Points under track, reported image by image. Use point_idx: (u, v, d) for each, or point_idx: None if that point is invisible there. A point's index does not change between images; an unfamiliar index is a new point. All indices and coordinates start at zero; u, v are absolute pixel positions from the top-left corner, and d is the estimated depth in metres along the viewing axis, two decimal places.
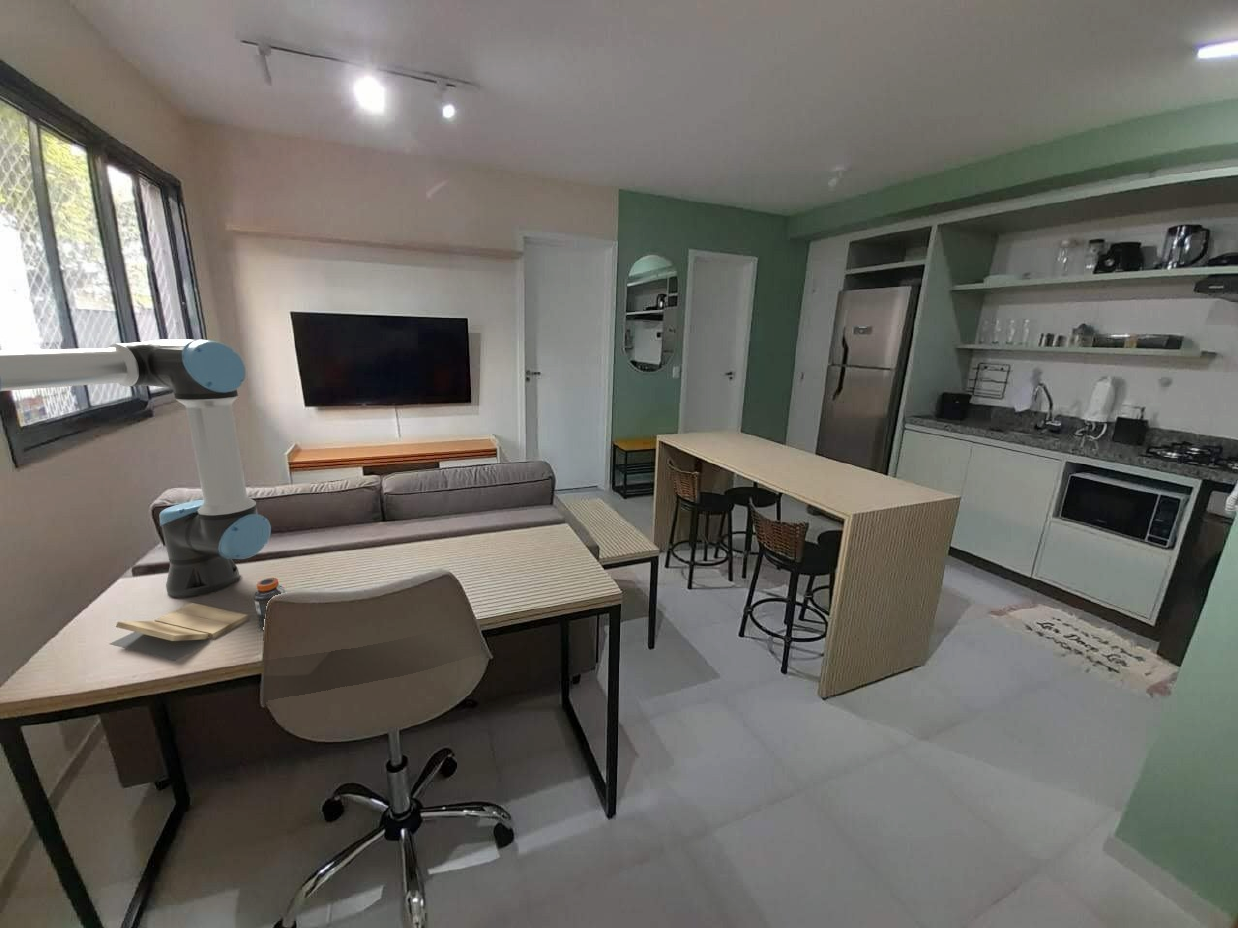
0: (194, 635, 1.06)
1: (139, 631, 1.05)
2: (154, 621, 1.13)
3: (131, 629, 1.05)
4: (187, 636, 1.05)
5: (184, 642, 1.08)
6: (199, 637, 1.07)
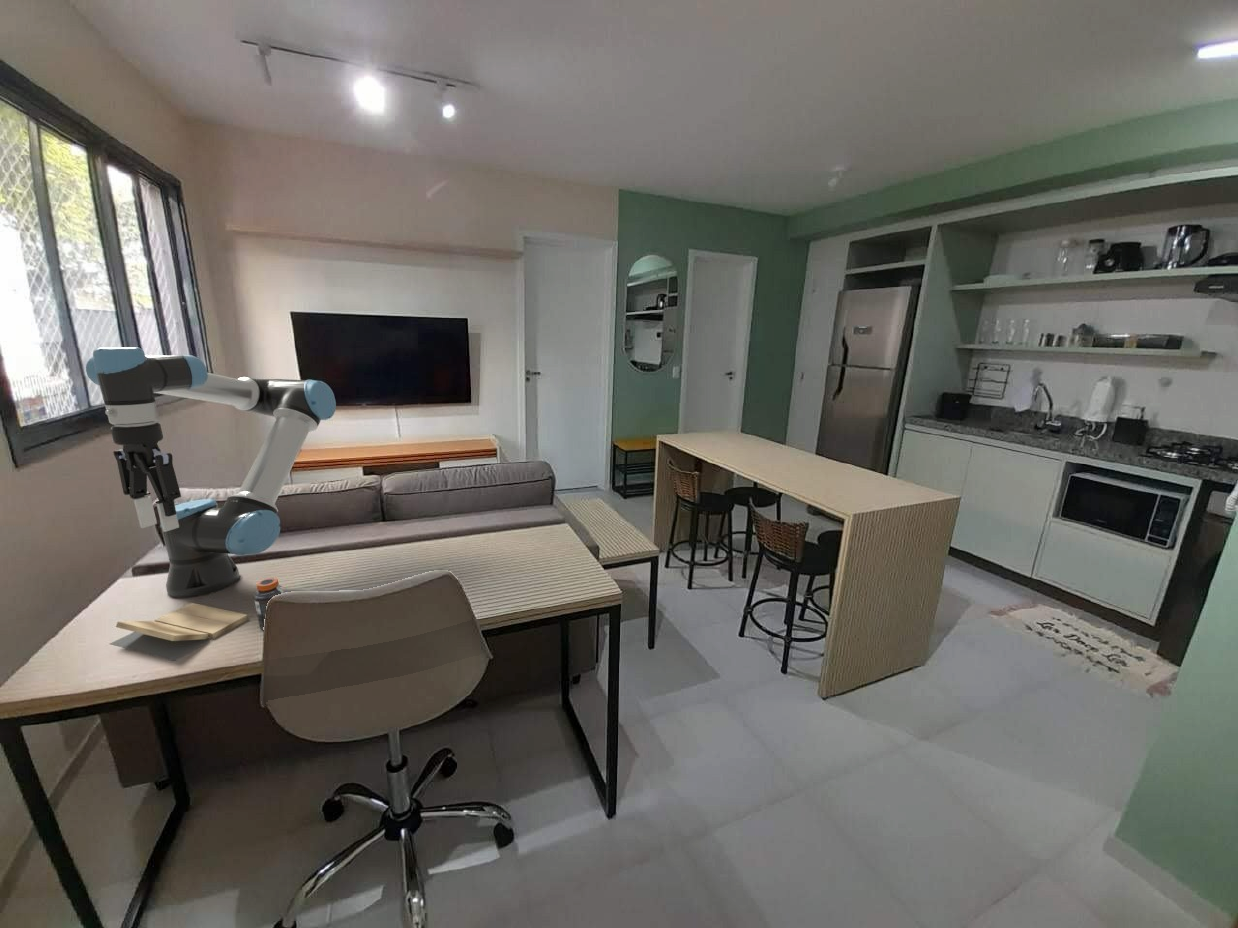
0: (194, 635, 1.06)
1: (139, 631, 1.05)
2: (154, 621, 1.13)
3: (131, 629, 1.05)
4: (187, 636, 1.05)
5: (184, 642, 1.08)
6: (199, 637, 1.07)
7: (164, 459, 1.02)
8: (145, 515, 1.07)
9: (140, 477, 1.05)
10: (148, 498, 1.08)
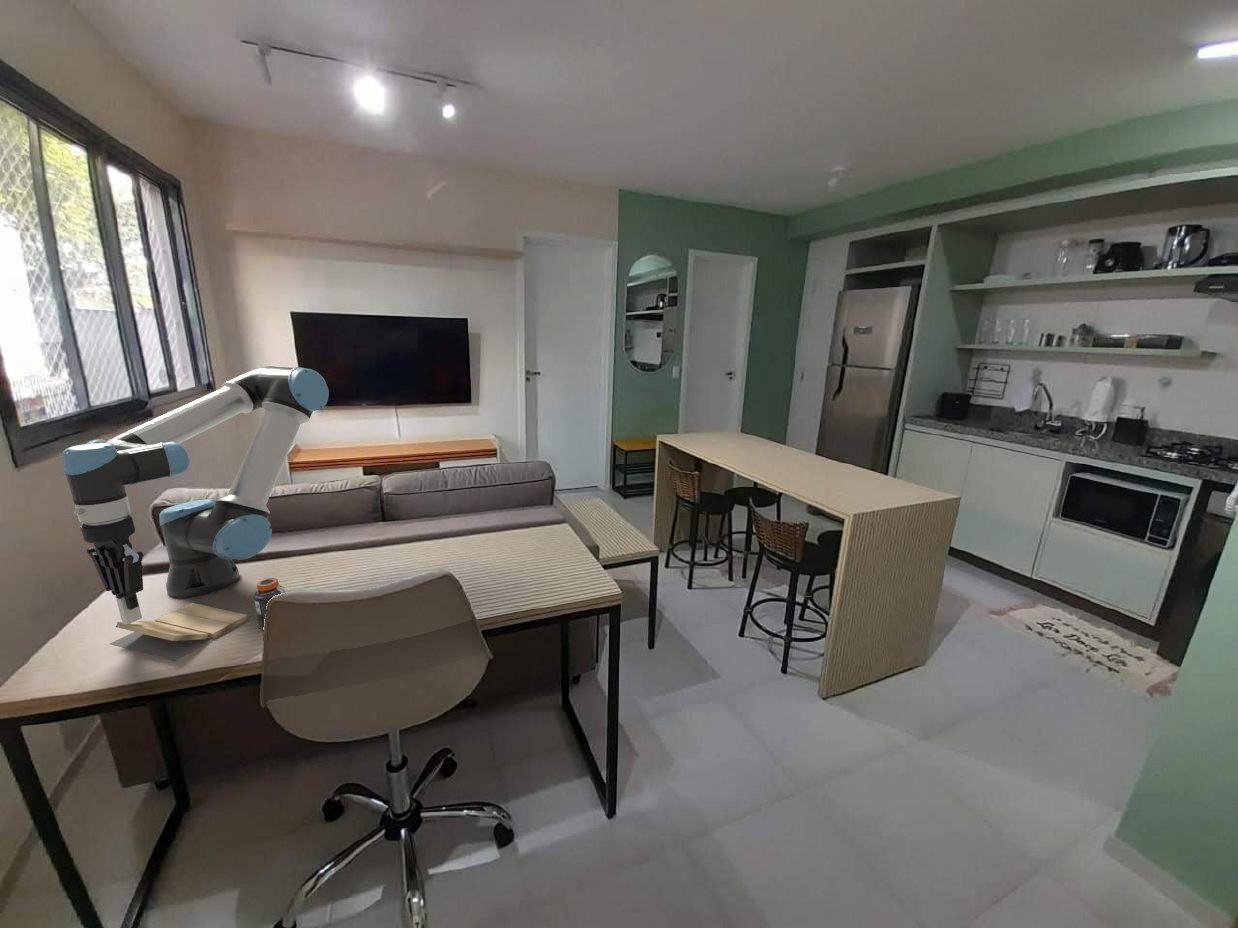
0: (194, 635, 1.06)
1: (139, 631, 1.05)
2: (154, 621, 1.13)
3: (131, 629, 1.05)
4: (187, 636, 1.05)
5: (184, 642, 1.08)
6: (199, 637, 1.07)
7: (134, 559, 1.01)
8: None
9: None
10: None
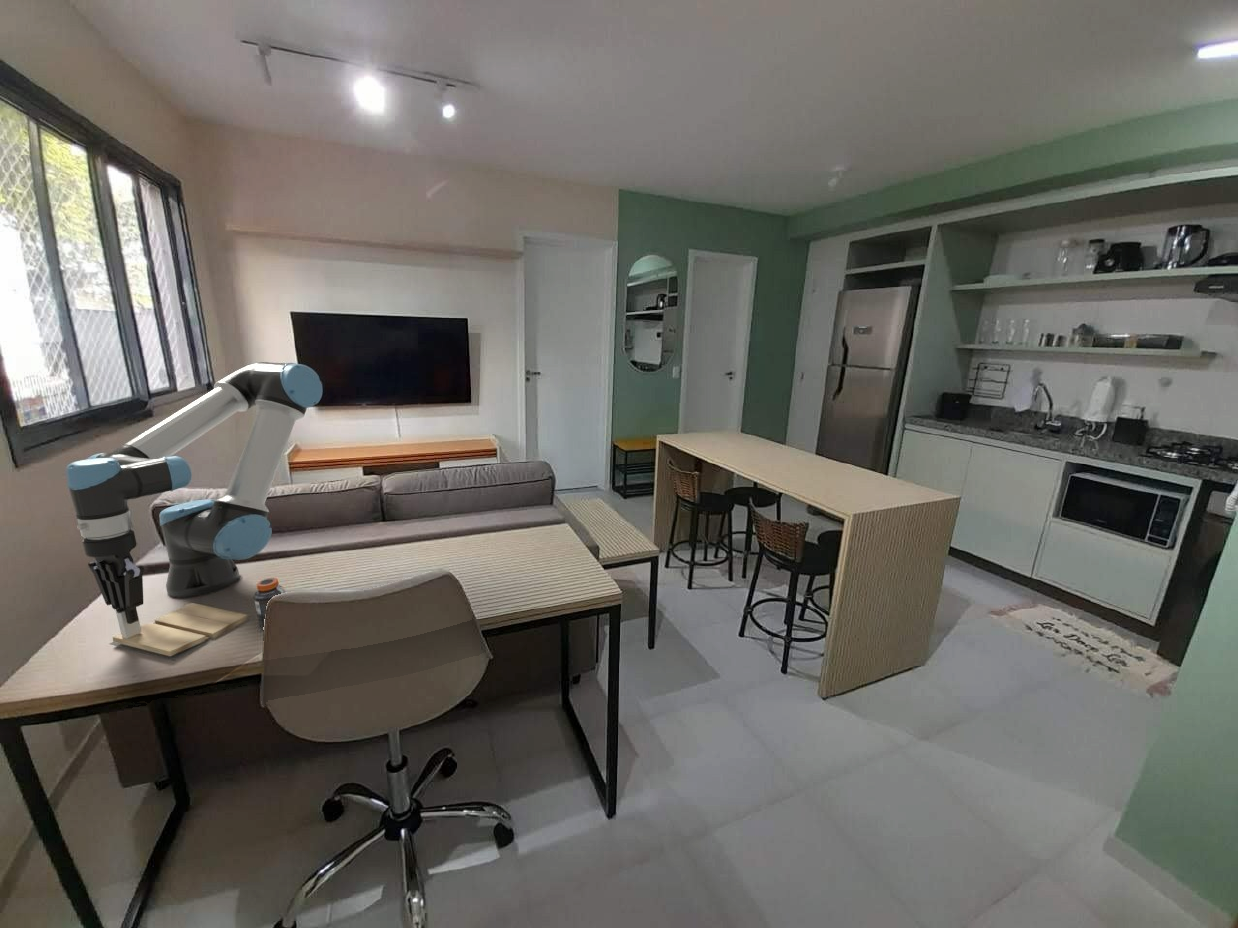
0: (191, 642, 1.06)
1: (136, 646, 1.04)
2: (151, 623, 1.12)
3: (128, 644, 1.05)
4: (184, 646, 1.04)
5: None
6: (197, 642, 1.07)
7: (135, 574, 1.01)
8: None
9: None
10: None
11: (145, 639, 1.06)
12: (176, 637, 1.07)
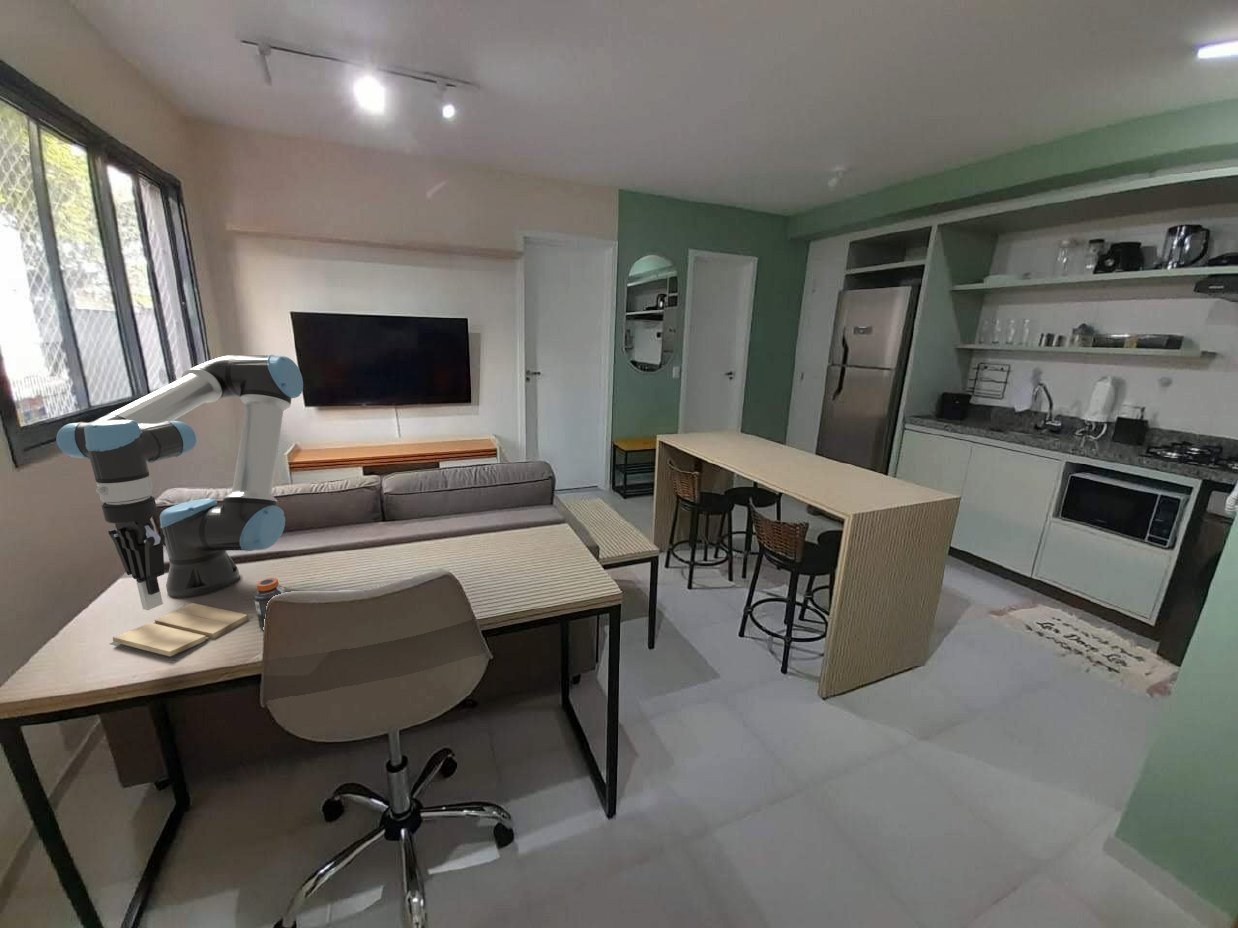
0: (191, 642, 1.06)
1: (136, 646, 1.04)
2: (151, 623, 1.12)
3: (128, 644, 1.05)
4: (184, 646, 1.04)
5: None
6: (197, 642, 1.07)
7: (155, 541, 0.97)
8: None
9: None
10: None
11: (145, 639, 1.06)
12: (176, 637, 1.07)
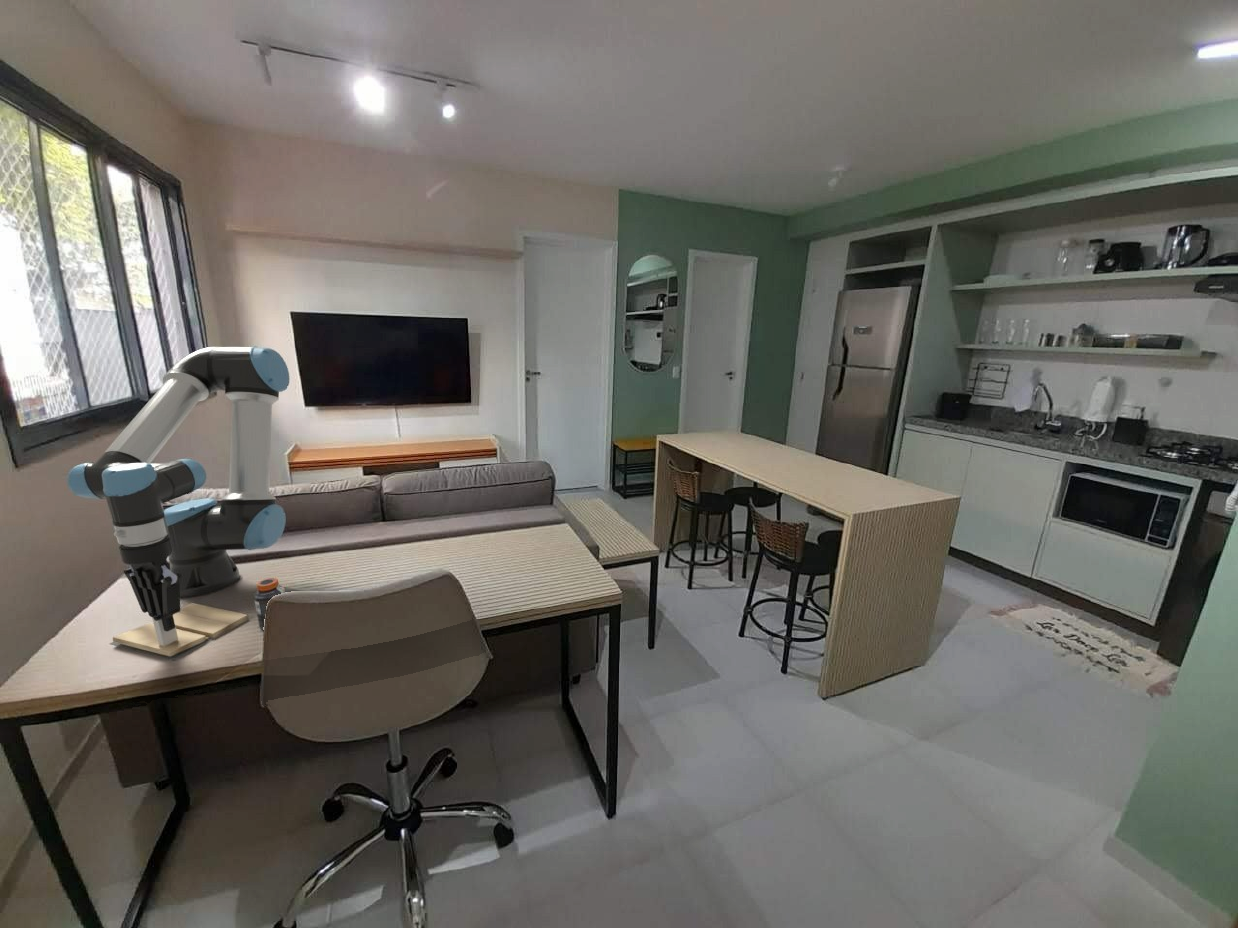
0: (191, 642, 1.06)
1: (136, 646, 1.04)
2: (151, 623, 1.12)
3: (128, 644, 1.05)
4: (184, 646, 1.04)
5: None
6: (197, 642, 1.07)
7: (173, 581, 0.99)
8: None
9: None
10: None
11: (145, 639, 1.06)
12: None
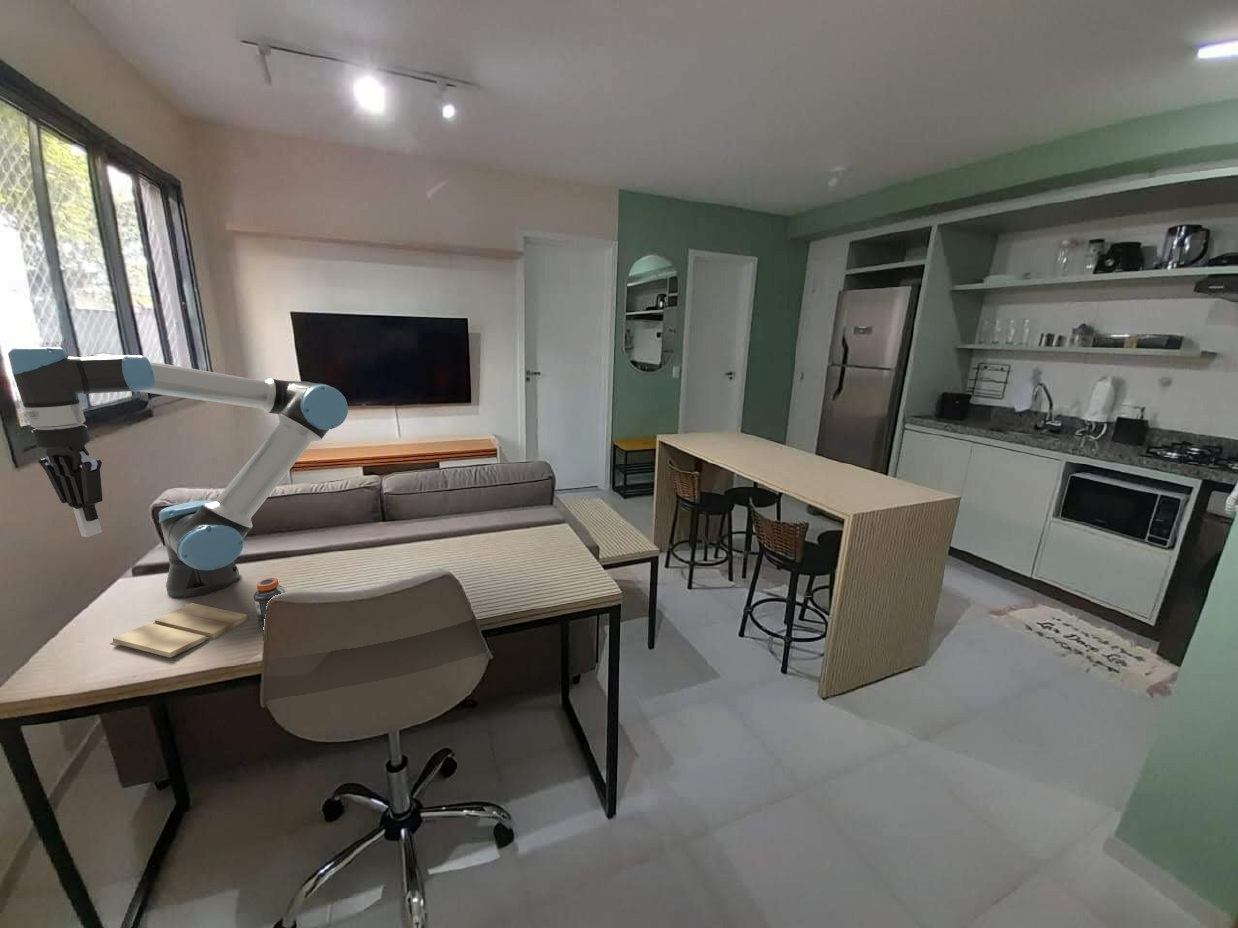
0: (191, 643, 1.06)
1: (136, 647, 1.04)
2: (151, 623, 1.12)
3: (128, 645, 1.05)
4: (184, 647, 1.04)
5: None
6: (197, 642, 1.07)
7: (92, 466, 1.00)
8: None
9: None
10: None
11: (145, 640, 1.06)
12: (176, 638, 1.07)
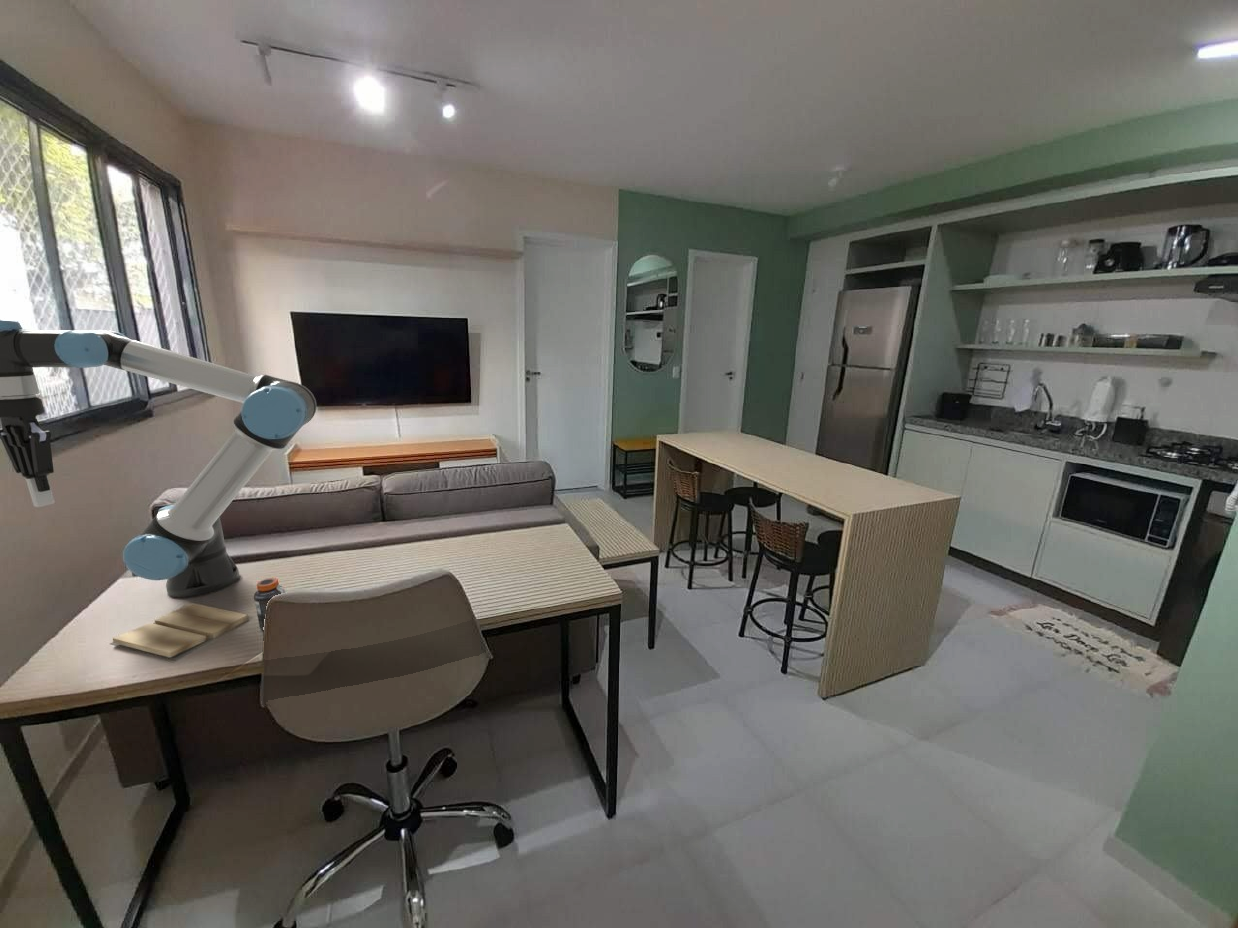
0: (191, 643, 1.06)
1: (136, 647, 1.04)
2: (151, 623, 1.12)
3: (128, 645, 1.05)
4: (184, 647, 1.04)
5: None
6: (197, 642, 1.07)
7: (41, 437, 1.01)
8: None
9: None
10: None
11: (145, 640, 1.06)
12: (176, 638, 1.07)
